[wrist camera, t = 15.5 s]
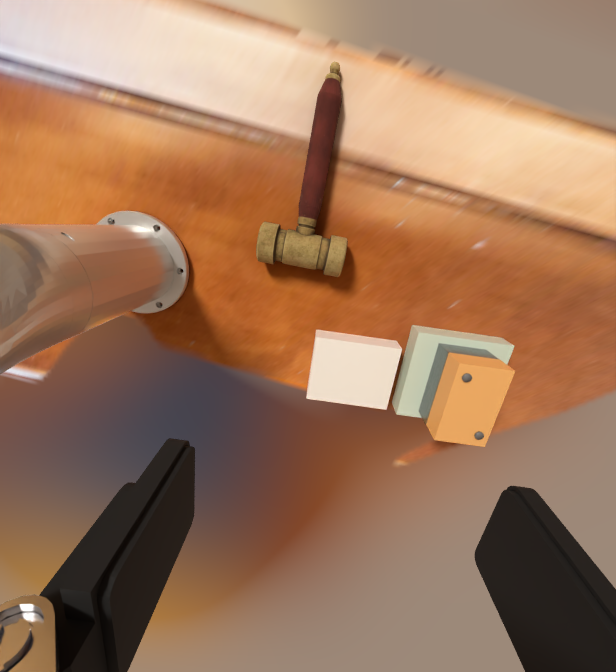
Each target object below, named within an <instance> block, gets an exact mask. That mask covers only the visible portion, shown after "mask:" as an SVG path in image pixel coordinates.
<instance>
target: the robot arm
mask: <svg viewBox="0 0 616 672" xmlns="http://www.w3.org/2000/svg"><path fill="white" fill-rule="evenodd" d="M114 221H115V222H114ZM159 226H160V228H161V229H160V230H159ZM181 269H183V272H182V271H181ZM188 279H189V264H188V258H187V255H186V252H185V249H184V247H183V245H182V243H181V241H180V240H179V238H178V237H177V236H176V234H175V233H174V232H173V231H172V230H171V229H170V228H169V227H168V226H167V225H166V224H165V223H163V222H162V221H160V220H159V219H157V218H155V217H153V216H151V215H149V214H145V213H141V212H137V211H119V212H115V213H112V214H109V215H108V216H106V217H104V218H102V219H101V220H100V221H99V222H98V223H97V224H96V225H62V224H0V375H1V374H2V373H3V372H5V371H6V370H8V369H10V368H11V367H13V366H15V365H16V364H18V363H20V362H21V361H23V360H25V359H27V358H29V357H31V356H33V355H35V354H36V353H39V352H41V351H43V350H45V349H47V348H49V347H51V346H53V345H55V344H58V343H60V342H62V341H64V340H67V339H69V338H71V337H74V336H76V335H78V334H81V333H83V332H85V331H87V330H90V329H92V328H94V327H96V326H98V325H100V324H103V323H105V322H107V321H110V320H112V319H114V318H116V317H118V316H121V315H123V314H125V313H127V312H130V311H133V312H137V313H155V312H159V311H162V310H165V309H166V308H168V307H170V306H172V305H173V304H174V303H175V302H177V301H178V300H179V298H180V297H181V296H182V295H183V293H184V291H185V289H186V287H187V283H188ZM161 303H162V304H161ZM194 479H195V448H194V447H190V445H189V441H184V440H178V439H168V440H167V441H166V442H165V443H164V445H163V446H162V447H161V449H160V450H159V452H158V453H157V454H156V456H155V457H154V458H153V460H152V461H151V463H150V464H149V465H148V467H147V468H146V470H145V471H144V472H143V474H142V475H141V476H140V478H139V479H138V481H137V482H136V483H127V484H125V485H124V486H123V487H122V488H121V489H120V490H119V492H118V493H117V494H116V496H115V497H114V498H113V500H112V501H111V502H110V504H109V505H108V506H107V508H106V509H105V510H104V511H103V513H102V514H101V515H100V516H99V518H98V519H97V520H96V522H95V523H94V524H93V526H92V527H91V528H90V530H89V531H88V532H87V534H86V535H85V536H84V537H83V539H82V540H81V541H80V543H79V544H78V545H77V547H76V548H75V549H74V551H73V552H72V553H71V554H70V556H69V557H68V558H67V560H66V561H65V562H64V564H63V565H62V566H61V568H60V569H59V570H58V571H57V573H56V574H55V575H54V577H53V578H52V579H51V581H50V582H49V583H48V585H47V586H46V587H45V588H44V590H43V591H42V592H41V594H40V595H39V596H38V595H27V596H21V597H18V598H15V599H12V600H9V601H6V602H4V603H3V604H1V605H0V672H127V671H128V669H129V667H130V664H131V662H132V660H133V658H134V655H135V653H136V651H137V649H138V646H139V644H140V642H141V639H142V637H143V635H144V633H145V630H146V628H147V626H148V623H149V621H150V619H151V616H152V614H153V612H154V610H155V607H156V605H157V603H158V600H159V598H160V596H161V593H162V591H163V589H164V587H165V584H166V582H167V580H168V577H169V575H170V573H171V570H172V568H173V566H174V563H175V561H176V559H177V557H178V554H179V552H180V550H181V548H182V545H183V543H184V541H185V538H186V536H187V534H188V531H189V529H190V527H191V524H192V521H193V517H194V483H195V482H194V481H195V480H194ZM475 561H476V565H477V567H478V569H479V571H480V574H481V576H482V578H483V580H484V582H485V585H486V587H487V589H488V591H489V593H490V596H491V598H492V600H493V602H494V604H495V606H496V608H497V610H498V613H499V615H500V617H501V619H502V622H503V624H504V626H505V628H506V630H507V633H508V635H509V637H510V639H511V641H512V643H513V646H514V648H515V650H516V652H517V655H518V657H519V659H520V661H521V663H522V665H523V668H524V670H525V672H616V589H615V588H614V587H613V585H612V584H611V583H610V582H609V581H608V579H607V578H606V577H605V576H604V574H603V573H602V572H601V571H600V569H599V568H598V567H597V566H596V564H594V562H593V561H592V560H591V558H590V557H589V556H588V555H587V553H586V552H585V551H584V550H583V549H582V547H581V546H580V545H579V543H578V542H577V541H576V540H575V539H574V537H573V536H572V535H571V534H570V532H569V531H568V530H567V529H566V527H565V526H564V525H563V524H562V523H561V521H560V520H559V519H558V518H557V516H556V515H555V514H554V513H553V511H552V510H551V509H550V508H549V506H548V505H547V504H546V503H545V501H544V500H543V499H542V498H541V497H540V496H539V494H538V493H537V492H536V491H535V490H534V489H531V488H525V487H517V486H510V487H508V488H507V490H504V491H503V492H502V494H501V496H500V498H499V500H498V502H497V504H496V507H495V509H494V511H493V513H492V515H491V518H490V520H489V522H488V524H487V526H486V529H485V531H484V533H483V535H482V537H481V540H480V542H479V544H478V546H477V548H476V551H475Z"/></svg>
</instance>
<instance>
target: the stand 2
mask: <svg viewBox="0 0 616 672" xmlns="http://www.w3.org/2000/svg"><path fill="white" fill-rule="evenodd" d="M439 343H442V344H449V345H456V346H464V347H471V348H478V349H485V350H487V351H489V352H490V353H491V354H493V355H494V356H495V357H497V358H498V359H500V360H501V361H503V362H504V363H505V364H508V361H509V359H510V356H511V354H512V351H513V349H514V345H512V344H511V343H509V342H507V341H506V340H504V339H503V338H500V337H493V336H486V335H479V334H472V333H465V332H458V331H451V330H444V329H437V328H430V327H423V326H416V325H412V327H411V331H410V335H409V339H408V343H407V346H406V350H405V354H404V358H403V362H402V365H401V369H400V373H399V377H398V381H397V384H396V388H395V392H394V396H393V400H392V404H393V407H394V410H395V412H396V414H398V415H405V416H412V417H419V418H422V417H421V415H420V413H419V408H420V404H421V401H422V398H423V394H424V391H425V388H426V384H427V381H428V378H429V374H430V371H431V367H432V364H433V361H434V357H435V354H436V351H437V347H438V344H439Z"/></svg>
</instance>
